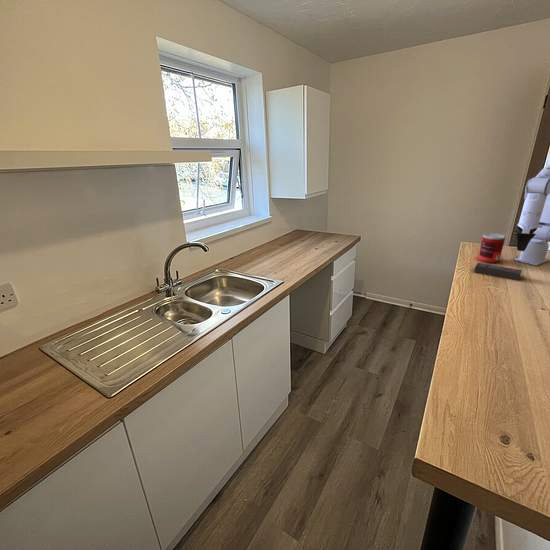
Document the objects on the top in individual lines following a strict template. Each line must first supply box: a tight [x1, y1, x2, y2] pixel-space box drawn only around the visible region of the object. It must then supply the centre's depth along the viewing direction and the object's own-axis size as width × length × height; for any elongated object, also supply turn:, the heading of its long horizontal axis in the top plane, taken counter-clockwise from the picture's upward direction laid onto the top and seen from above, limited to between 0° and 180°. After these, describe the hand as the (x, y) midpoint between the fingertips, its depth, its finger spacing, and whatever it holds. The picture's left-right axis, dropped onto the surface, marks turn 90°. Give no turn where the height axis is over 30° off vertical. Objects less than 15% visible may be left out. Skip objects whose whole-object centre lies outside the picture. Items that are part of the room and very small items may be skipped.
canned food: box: [477, 232, 506, 264], centre depth 127 cm, size 8×8×11 cm
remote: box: [473, 262, 523, 281], centre depth 115 cm, size 14×5×3 cm, turn 49°
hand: (521, 248), depth 114 cm, fingers open, 7 cm apart
